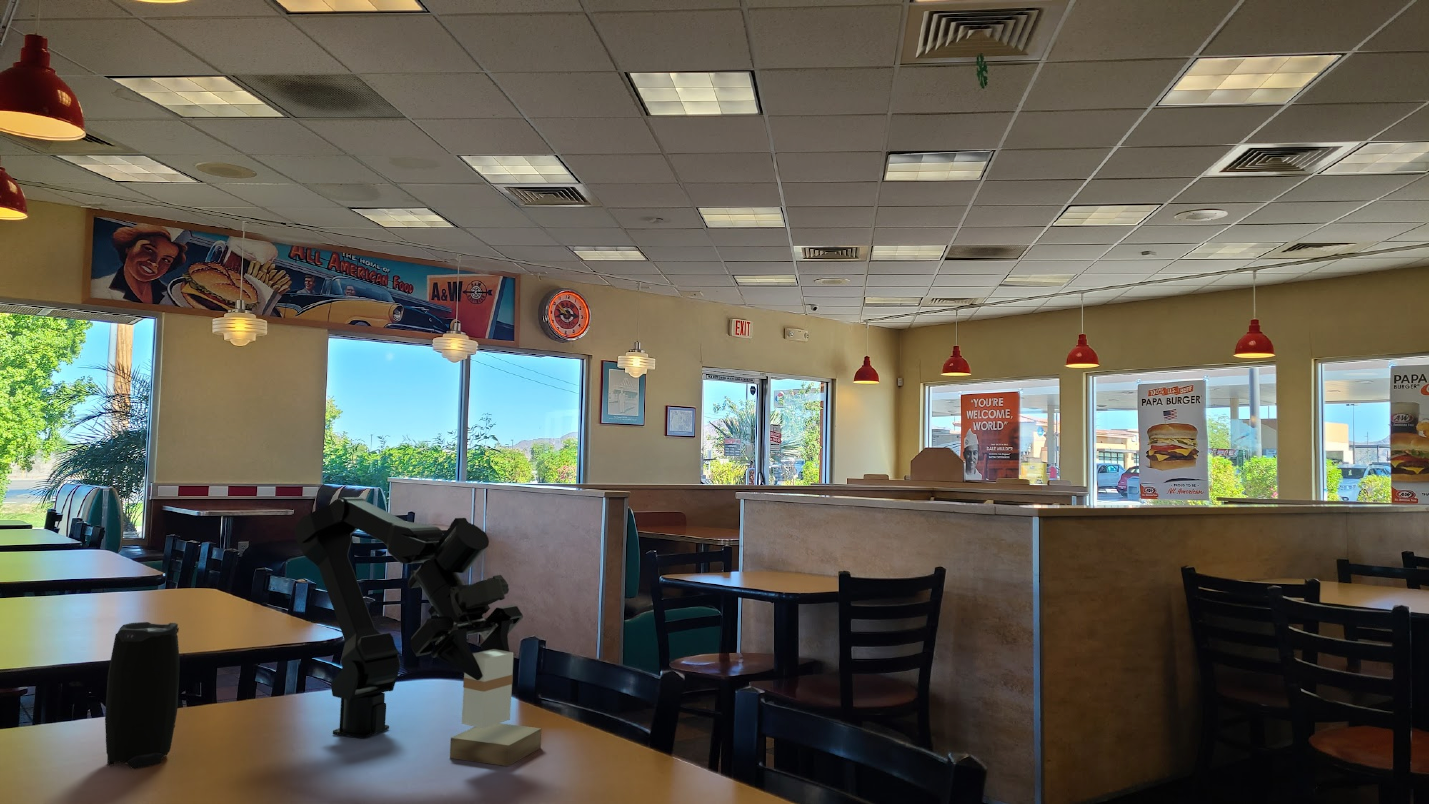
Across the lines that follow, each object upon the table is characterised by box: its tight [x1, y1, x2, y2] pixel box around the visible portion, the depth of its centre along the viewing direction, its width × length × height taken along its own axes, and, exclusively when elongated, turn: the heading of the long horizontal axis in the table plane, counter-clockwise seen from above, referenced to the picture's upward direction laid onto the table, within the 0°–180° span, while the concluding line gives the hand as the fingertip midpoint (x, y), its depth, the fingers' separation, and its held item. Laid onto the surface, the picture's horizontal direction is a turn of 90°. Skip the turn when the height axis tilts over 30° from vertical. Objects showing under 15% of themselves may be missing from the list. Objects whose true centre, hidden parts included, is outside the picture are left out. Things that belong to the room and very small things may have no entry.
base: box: [449, 722, 542, 767], centre depth 146 cm, size 10×10×3 cm
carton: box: [461, 649, 514, 729], centre depth 141 cm, size 4×6×10 cm
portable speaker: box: [104, 621, 181, 770], centre depth 138 cm, size 9×9×20 cm
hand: (495, 674), depth 141 cm, fingers closed on carton, 6 cm apart
